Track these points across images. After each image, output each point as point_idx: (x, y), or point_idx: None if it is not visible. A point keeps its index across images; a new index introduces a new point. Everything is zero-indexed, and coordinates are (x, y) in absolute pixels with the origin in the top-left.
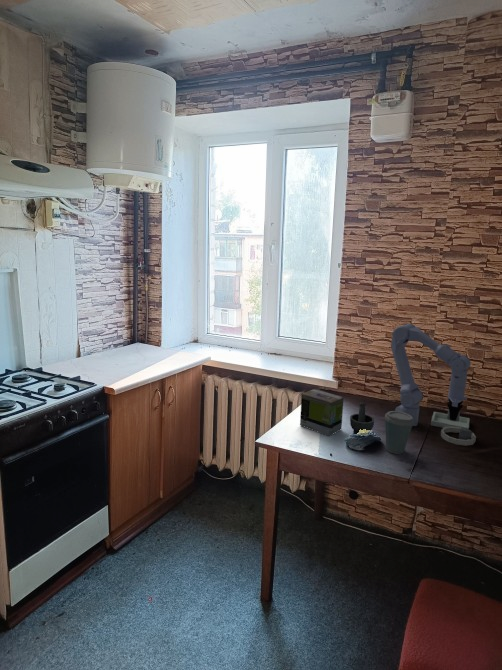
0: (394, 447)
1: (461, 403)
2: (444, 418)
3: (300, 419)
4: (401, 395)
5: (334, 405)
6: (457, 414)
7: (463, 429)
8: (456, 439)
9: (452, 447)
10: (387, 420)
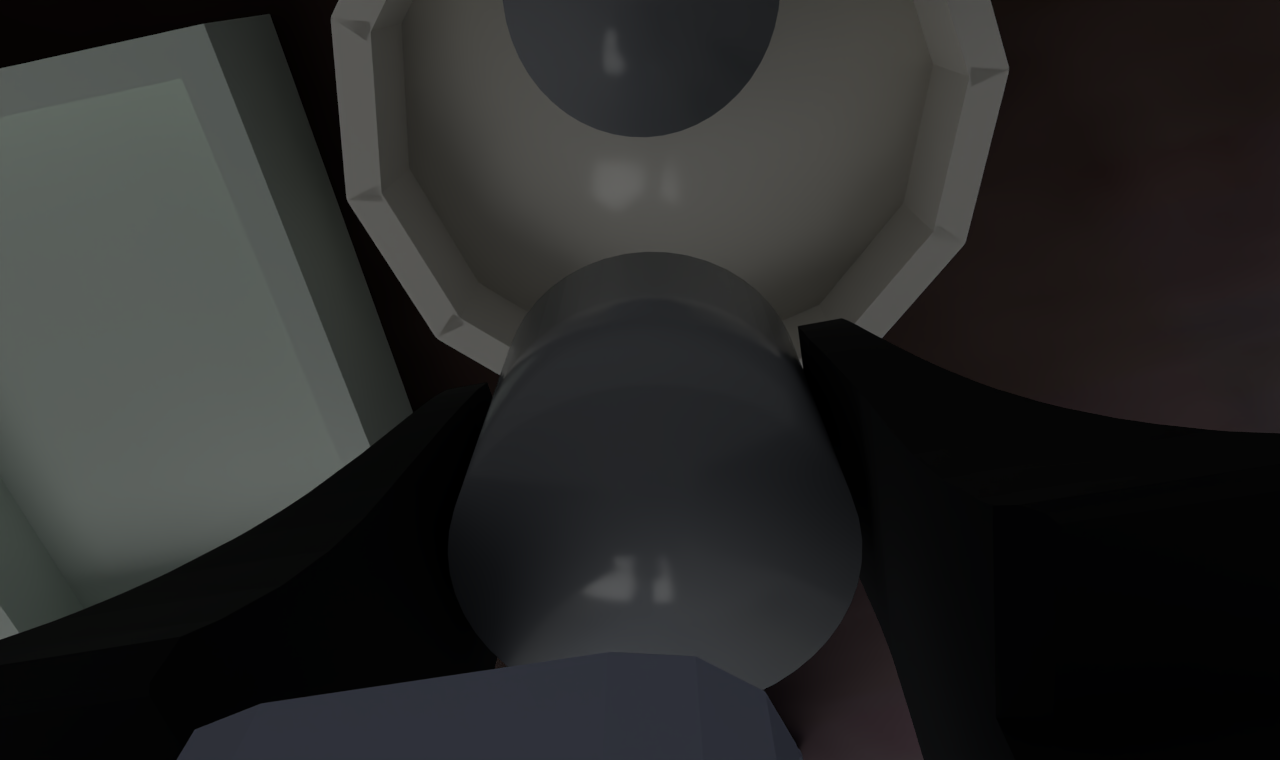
0: None
1: (276, 593)
2: (14, 499)
3: None
4: None
5: None
6: (963, 384)
7: (601, 67)
8: (1002, 91)
9: (1018, 104)
10: None
